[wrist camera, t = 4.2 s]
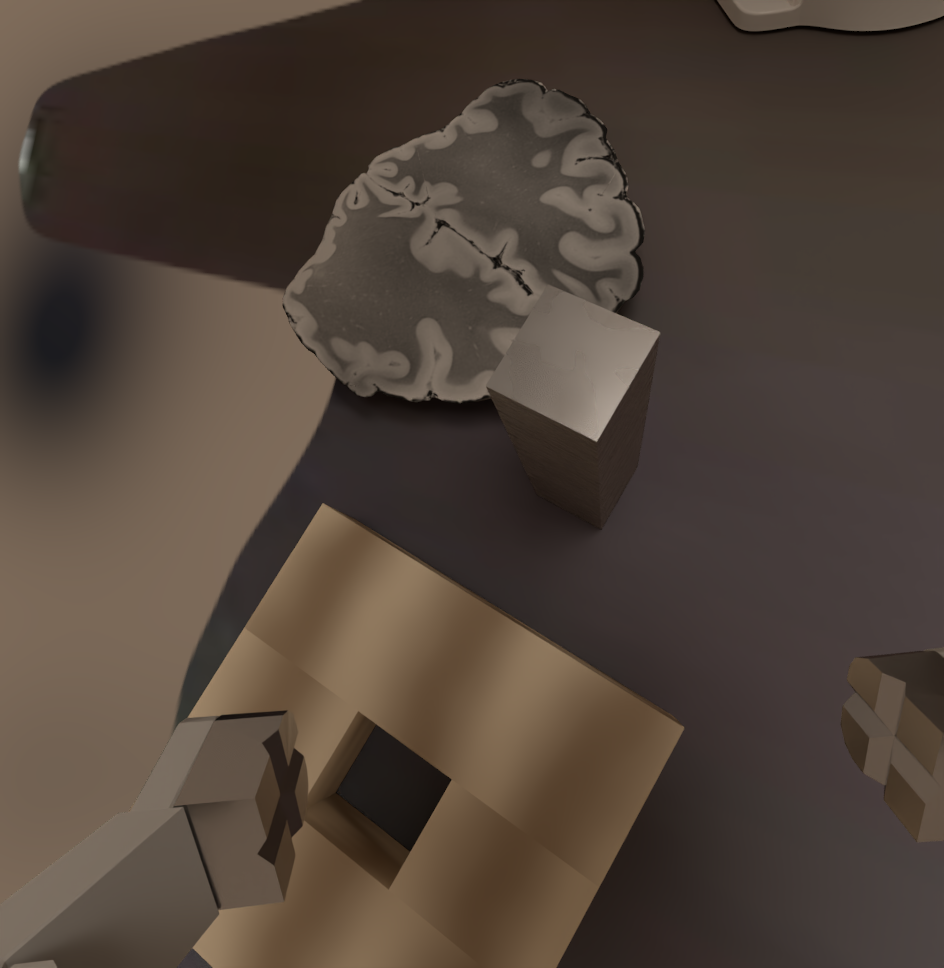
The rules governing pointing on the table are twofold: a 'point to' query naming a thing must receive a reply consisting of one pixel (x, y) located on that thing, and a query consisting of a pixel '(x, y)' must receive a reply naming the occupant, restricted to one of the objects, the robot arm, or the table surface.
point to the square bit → (577, 401)
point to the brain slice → (467, 246)
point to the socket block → (444, 744)
